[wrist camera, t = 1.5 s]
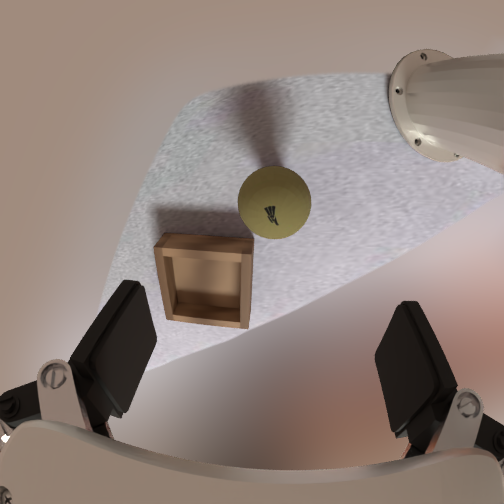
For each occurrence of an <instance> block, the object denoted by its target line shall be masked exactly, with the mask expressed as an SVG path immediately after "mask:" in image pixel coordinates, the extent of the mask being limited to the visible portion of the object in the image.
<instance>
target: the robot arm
mask: <svg viewBox="0 0 504 504" xmlns="http://www.w3.org/2000/svg"><path fill="white" fill-rule="evenodd" d="M396 89H397V91H398V93H396ZM389 104H390V108H391V113H392V116H393V119H394V121H395V124H396V126H397V128H398V130H399V132H400V133H401V135H402V137H403V138H404V139H405V140H406V142H407V143H408V144H409V145H410V146H411V147H412V148H413V149H414V150H415V151H416V152H418V153H420V154H421V155H423V156H424V157H427V158H429V159H431V160H434V161H438V162H452V161H457V160H459V159H461V158H463V157H465V158H467V159H470V160H472V161H475V162H477V163H479V164H481V165H484V166H486V167H488V168H490V169H492V170H495V171H497V172H499V173H501V174H503V175H504V54H489V55H478V56H469V57H461V58H455V59H454V58H452V57H450V56H449V55H447V54H445V53H443V52H440V51H437V50H430V49H424V50H418V51H415V52H412V53H410V54H408V55H406V56H405V57H403V58H402V59H401V60H400V61H399V62H398V63H397V65H396V67H395V69H394V70H393V73H392V76H391V79H390V84H389ZM415 139H416V142H415ZM156 342H157V335H156V332H155V328H154V324H153V321H152V317H151V313H150V309H149V305H148V301H147V296H146V292H145V288H144V286H141V284H140V282H139V281H133V280H123V281H122V283H121V284H120V285H119V287H118V288H117V289H116V291H115V292H114V293H113V295H112V296H111V298H110V299H109V300H108V302H107V303H106V305H105V306H104V307H103V309H102V310H101V312H100V313H99V314H98V316H97V317H96V319H95V320H94V322H93V323H92V325H91V326H90V328H89V329H88V331H87V332H86V334H85V335H84V337H83V338H82V340H81V341H80V343H79V345H78V346H77V347H76V349H75V351H74V352H73V354H72V355H71V357H70V360H69V361H68V363H67V362H65V361H63V360H60V359H55V360H51V361H49V362H47V363H45V364H44V365H43V366H42V367H41V368H40V370H39V372H38V375H37V380H36V381H34V382H31V383H28V384H25V385H23V386H20V387H17V388H14V389H11V390H8V391H6V392H4V393H3V394H2V395H1V396H0V504H504V426H503V425H502V424H500V423H499V422H497V421H495V420H494V419H492V418H490V417H489V416H487V415H486V414H484V413H483V408H484V406H483V402H482V399H481V397H480V396H479V395H478V394H477V393H476V392H475V391H473V390H471V389H465V388H464V389H461V390H459V391H457V389H456V387H457V386H458V385H457V382H456V380H455V377H454V375H453V373H452V370H451V368H450V366H449V363H448V361H447V359H446V357H445V354H444V352H443V350H442V348H441V346H440V344H439V342H438V340H437V338H436V335H435V334H434V331H433V330H432V328H431V326H430V324H429V322H428V320H427V318H426V316H425V314H424V312H423V310H422V308H421V307H420V305H419V303H418V302H417V301H403V302H402V303H401V304H400V305H398V306H397V307H396V310H395V312H394V314H393V317H392V319H391V321H390V323H389V326H388V328H387V330H386V332H385V334H384V336H383V338H382V340H381V342H380V345H379V346H378V348H377V350H376V353H375V363H376V367H377V370H378V374H379V378H380V382H381V386H382V391H383V395H384V399H385V404H386V408H387V413H388V417H389V422H390V427H391V430H392V432H395V436H396V438H401V437H406V436H408V439H409V443H408V445H407V447H406V448H405V450H404V452H403V454H402V455H401V457H400V459H399V460H395V461H391V462H385V463H379V464H373V465H366V466H358V467H350V468H339V469H328V470H327V469H326V470H302V471H301V470H296V471H295V470H293V471H292V470H291V471H290V470H289V471H288V470H261V469H248V468H237V467H229V466H221V465H214V464H208V463H202V462H196V461H191V460H186V459H181V458H177V457H172V456H168V455H164V454H160V453H156V452H152V451H148V450H145V449H142V448H139V447H135V446H132V445H128V444H125V443H122V442H119V441H116V440H114V437H113V435H112V432H111V430H110V427H109V424H108V422H107V421H108V419H109V416H110V415H112V416H114V417H117V418H122V415H123V413H126V412H127V411H128V410H129V407H130V405H131V402H132V400H133V397H134V395H135V392H136V390H137V387H138V385H139V383H140V380H141V378H142V375H143V373H144V371H145V368H146V366H147V364H148V361H149V359H150V357H151V354H152V352H153V350H154V347H155V345H156Z"/></svg>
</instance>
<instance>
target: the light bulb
mask: <svg viewBox="0 0 504 504" xmlns="http://www.w3.org/2000/svg"><path fill="white" fill-rule="evenodd" d="M310 209H311V196H310V192H309V189H308V187H307V185H306V183H305V182H304V180H303V179H302V178H301V177H300V176H299V175H298V174H297V173H295V172H294V171H292V170H290V169H288V168H284V167H281V166H268V167H264V168H261V169H258V170H257V171H255V172H253V173H252V174H251V175H250V176H248V178H247V179H246V180H245V181H244V183H243V184H242V186H241V188H240V192H239V195H238V210H239V213H240V216H241V218H242V220H243V222H244V223H245V225H246V226H247V227H248V228H249V229H250V230H251V231H252V232H254V233H255V234H257V235H259V236H261V237H264V238H268V239H282V238H286V237H288V236H291V235H293V234H294V233H296V232H297V231H298V230H299V229H300V228H301V227H302V226H303V225H304V224H305V222H306V221H307V219H308V216H309V214H310Z"/></svg>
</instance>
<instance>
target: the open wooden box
mask: <svg viewBox="0 0 504 504" xmlns="http://www.w3.org/2000/svg"><path fill="white" fill-rule="evenodd" d="M253 253H254V239H251V238H237V237H222V236H207V235H192V234H176V233H164V234H163V236H162V237H161V238H160V239H159V241H158V242H157V243H156V245H155V246H154V254H155V260H156V267H157V273H158V278H159V284H160V289H161V295H162V300H163V305H164V310H165V315H166V319H167V320H173V321H180V322H188V323H196V324H204V325H212V326H221V327H231V328H241V329H248V328H249V320H250V312H251V295H252V274H253Z"/></svg>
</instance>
